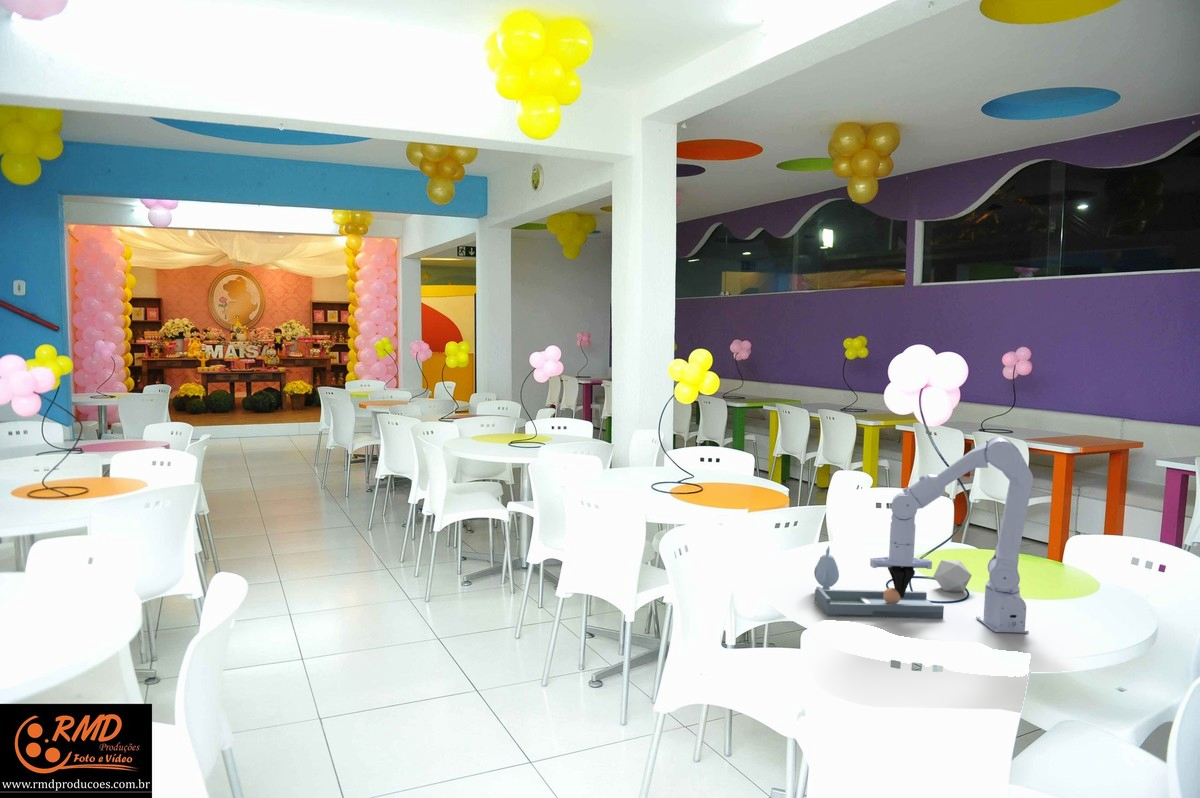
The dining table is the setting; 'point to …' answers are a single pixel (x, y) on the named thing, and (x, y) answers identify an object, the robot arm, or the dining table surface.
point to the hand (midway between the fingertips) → (899, 596)
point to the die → (952, 575)
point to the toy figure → (826, 571)
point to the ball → (891, 596)
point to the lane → (875, 604)
